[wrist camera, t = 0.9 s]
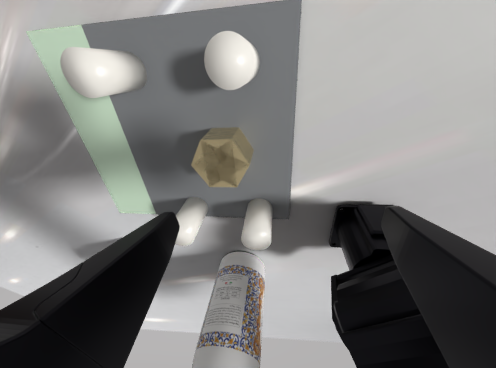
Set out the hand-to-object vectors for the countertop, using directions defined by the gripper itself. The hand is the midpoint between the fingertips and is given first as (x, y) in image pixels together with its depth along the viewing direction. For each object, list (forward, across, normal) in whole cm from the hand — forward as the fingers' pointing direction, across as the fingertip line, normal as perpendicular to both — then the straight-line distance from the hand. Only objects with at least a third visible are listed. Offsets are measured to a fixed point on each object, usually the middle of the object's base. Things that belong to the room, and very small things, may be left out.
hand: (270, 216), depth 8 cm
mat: (+12, +10, 0) cm, 16 cm away
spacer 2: (+12, +10, +8) cm, 18 cm away
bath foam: (+12, +6, +20) cm, 25 cm away
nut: (+12, +5, +1) cm, 13 cm away
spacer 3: (+12, +2, -6) cm, 14 cm away
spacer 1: (+12, +12, -7) cm, 18 cm away
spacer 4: (+12, +2, +9) cm, 15 cm away
